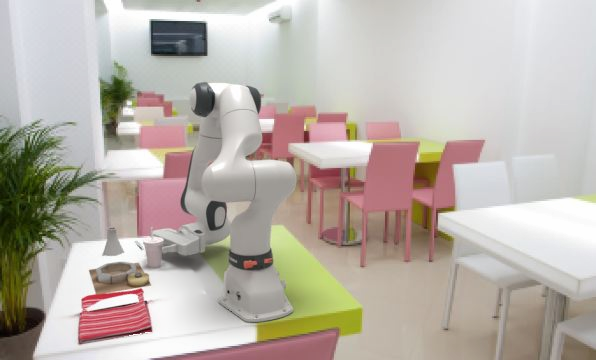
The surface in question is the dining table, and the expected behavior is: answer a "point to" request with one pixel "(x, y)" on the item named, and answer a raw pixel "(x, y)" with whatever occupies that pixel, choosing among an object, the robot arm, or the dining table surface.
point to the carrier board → (133, 282)
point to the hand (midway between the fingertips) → (153, 246)
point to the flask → (112, 243)
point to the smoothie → (153, 250)
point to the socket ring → (113, 267)
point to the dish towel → (113, 318)
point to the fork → (139, 244)
